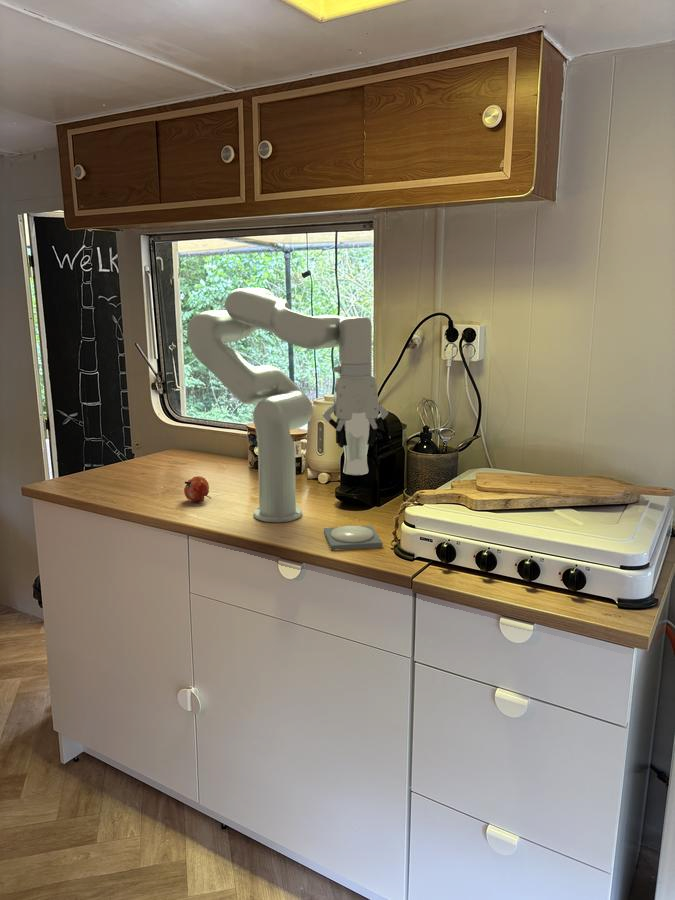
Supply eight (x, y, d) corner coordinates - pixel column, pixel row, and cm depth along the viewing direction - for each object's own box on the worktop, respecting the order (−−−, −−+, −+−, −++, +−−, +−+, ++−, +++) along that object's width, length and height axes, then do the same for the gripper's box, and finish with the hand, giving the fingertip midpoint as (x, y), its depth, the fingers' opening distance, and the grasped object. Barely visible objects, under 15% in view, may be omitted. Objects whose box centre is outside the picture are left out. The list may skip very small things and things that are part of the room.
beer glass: (368, 468, 172) (368, 408, 169) (371, 475, 166) (372, 412, 162) (340, 468, 172) (339, 408, 169) (342, 476, 165) (342, 413, 162)
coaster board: (323, 532, 171) (323, 525, 171) (371, 530, 173) (371, 523, 173) (330, 550, 160) (330, 543, 159) (382, 547, 162) (382, 540, 161)
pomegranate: (200, 503, 201) (172, 487, 196) (215, 483, 201) (187, 466, 196) (208, 513, 195) (179, 497, 190) (223, 492, 195) (195, 475, 190)
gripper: (321, 373, 158) (323, 451, 162) (395, 371, 161) (395, 446, 165) (315, 370, 165) (317, 444, 169) (386, 367, 169) (386, 440, 173)
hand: (355, 444), depth 167 cm, fingers closed on beer glass, 6 cm apart
